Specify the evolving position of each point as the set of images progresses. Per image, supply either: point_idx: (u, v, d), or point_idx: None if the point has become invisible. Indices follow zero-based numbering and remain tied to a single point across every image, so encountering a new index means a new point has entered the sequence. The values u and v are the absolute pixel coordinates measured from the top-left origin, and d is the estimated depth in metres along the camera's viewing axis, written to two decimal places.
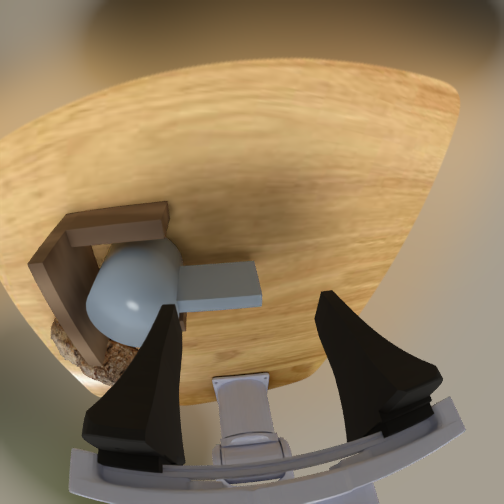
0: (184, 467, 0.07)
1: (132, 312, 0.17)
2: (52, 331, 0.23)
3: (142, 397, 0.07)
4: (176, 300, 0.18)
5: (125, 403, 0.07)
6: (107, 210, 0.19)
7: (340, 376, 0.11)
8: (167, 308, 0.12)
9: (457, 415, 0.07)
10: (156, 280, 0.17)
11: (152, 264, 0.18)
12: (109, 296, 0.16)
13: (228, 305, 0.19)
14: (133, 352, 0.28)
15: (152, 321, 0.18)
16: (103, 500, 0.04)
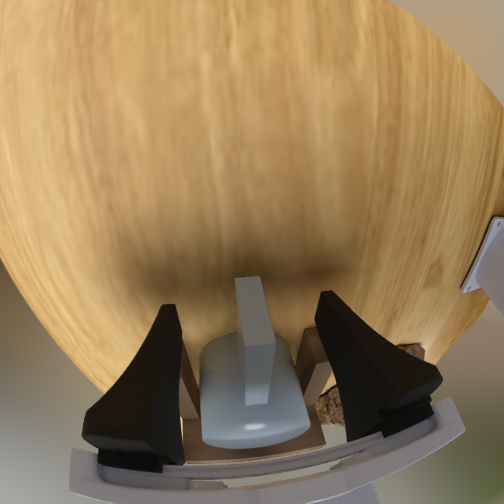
0: (184, 467, 0.07)
1: (247, 436, 0.14)
2: None
3: (142, 397, 0.07)
4: (245, 405, 0.13)
5: (125, 403, 0.07)
6: None
7: (340, 376, 0.11)
8: (168, 308, 0.12)
9: (457, 415, 0.07)
10: (212, 413, 0.14)
11: (206, 397, 0.15)
12: (223, 442, 0.15)
13: (263, 374, 0.11)
14: None
15: (262, 429, 0.14)
16: (103, 500, 0.04)
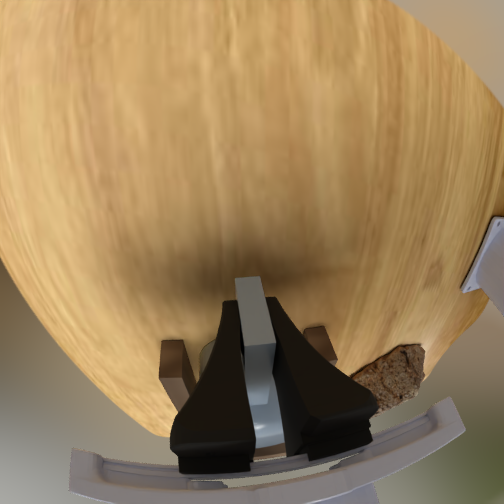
0: None
1: None
2: None
3: (235, 395, 0.07)
4: None
5: (219, 404, 0.07)
6: None
7: (278, 388, 0.11)
8: (231, 304, 0.12)
9: (457, 415, 0.07)
10: None
11: None
12: None
13: (263, 374, 0.11)
14: (369, 372, 0.23)
15: (262, 429, 0.14)
16: (103, 500, 0.04)
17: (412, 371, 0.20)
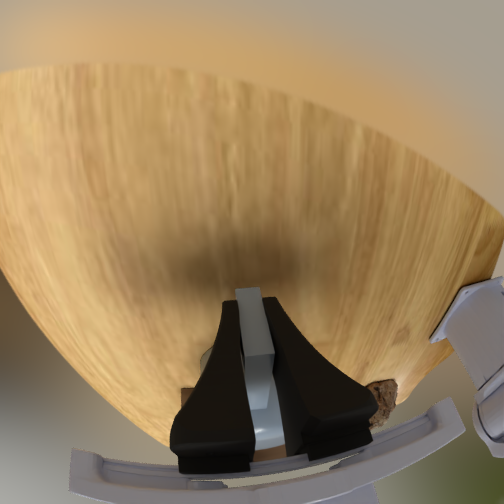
0: None
1: None
2: None
3: (235, 395, 0.07)
4: None
5: (219, 404, 0.07)
6: None
7: (278, 388, 0.11)
8: (231, 304, 0.12)
9: (457, 415, 0.07)
10: None
11: None
12: None
13: (262, 382, 0.12)
14: None
15: (262, 433, 0.14)
16: (103, 500, 0.04)
17: (382, 404, 0.25)
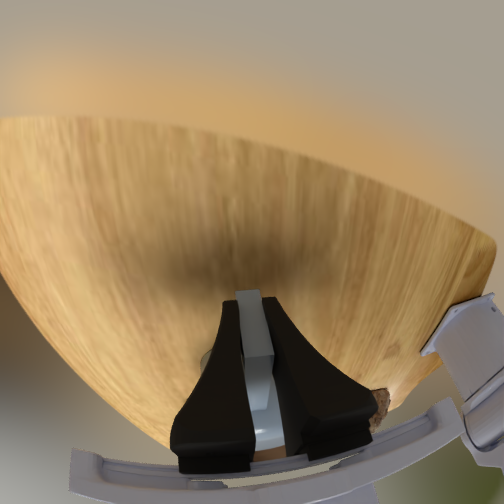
0: None
1: None
2: None
3: (235, 395, 0.07)
4: None
5: (219, 404, 0.07)
6: None
7: (278, 388, 0.11)
8: (231, 304, 0.12)
9: (457, 415, 0.07)
10: None
11: None
12: None
13: (262, 383, 0.12)
14: None
15: (262, 433, 0.14)
16: (103, 500, 0.04)
17: None
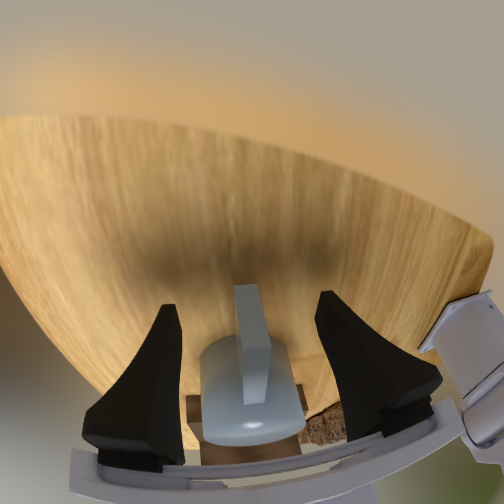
0: (184, 467, 0.07)
1: (245, 434, 0.15)
2: None
3: (142, 397, 0.07)
4: (243, 404, 0.14)
5: (125, 403, 0.07)
6: None
7: (340, 376, 0.11)
8: (167, 308, 0.12)
9: (457, 415, 0.07)
10: (212, 412, 0.14)
11: (207, 397, 0.16)
12: (223, 440, 0.15)
13: (260, 375, 0.12)
14: (338, 408, 0.29)
15: (260, 427, 0.14)
16: (103, 500, 0.04)
17: None
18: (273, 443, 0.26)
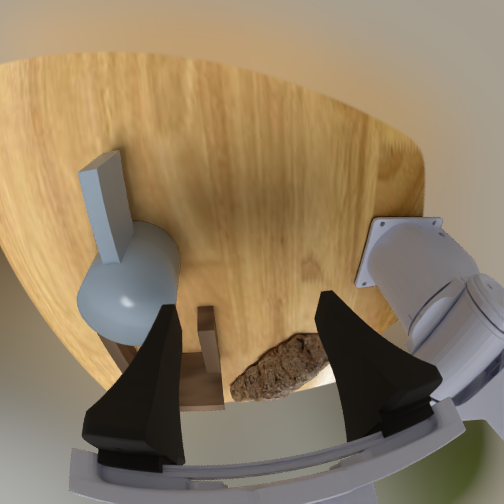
0: (184, 467, 0.07)
1: (113, 311, 0.16)
2: (234, 399, 0.34)
3: (142, 397, 0.07)
4: (103, 264, 0.15)
5: (125, 403, 0.07)
6: None
7: (340, 376, 0.11)
8: (168, 308, 0.12)
9: (457, 415, 0.07)
10: (84, 278, 0.15)
11: None
12: (100, 323, 0.16)
13: (99, 211, 0.13)
14: (271, 354, 0.30)
15: (120, 297, 0.15)
16: (103, 500, 0.04)
17: (304, 357, 0.27)
18: (194, 382, 0.26)
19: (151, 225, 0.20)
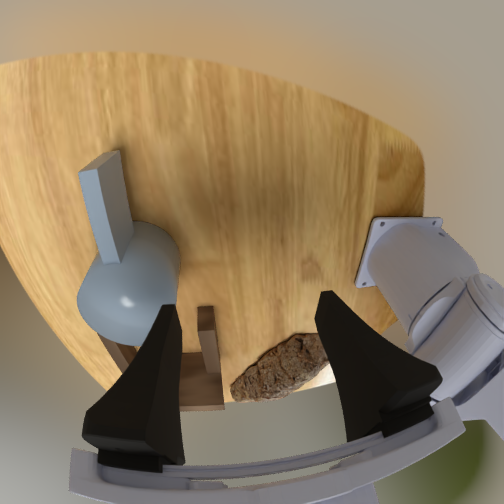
0: (184, 467, 0.07)
1: (113, 311, 0.16)
2: (234, 399, 0.34)
3: (142, 397, 0.07)
4: (103, 264, 0.15)
5: (125, 403, 0.07)
6: None
7: (340, 376, 0.11)
8: (168, 308, 0.12)
9: (457, 415, 0.07)
10: (84, 278, 0.15)
11: None
12: (100, 323, 0.16)
13: (99, 211, 0.13)
14: (270, 354, 0.30)
15: (120, 297, 0.15)
16: (103, 500, 0.04)
17: (303, 356, 0.27)
18: (194, 382, 0.26)
19: (151, 225, 0.20)
